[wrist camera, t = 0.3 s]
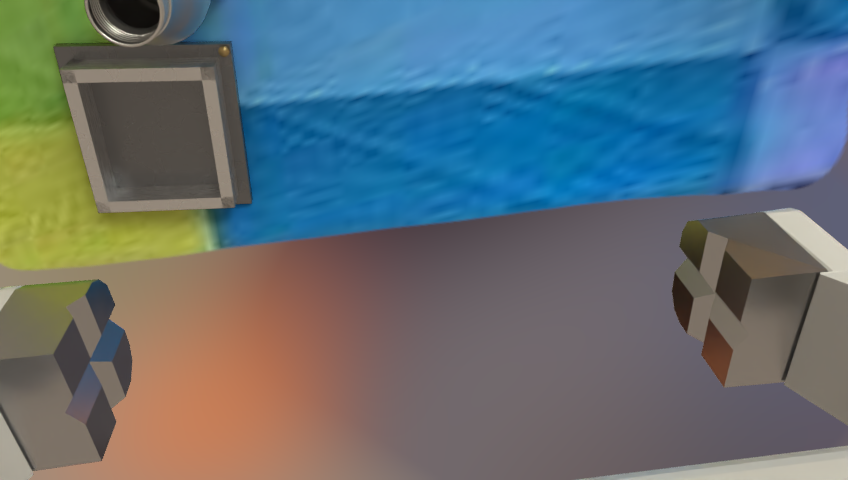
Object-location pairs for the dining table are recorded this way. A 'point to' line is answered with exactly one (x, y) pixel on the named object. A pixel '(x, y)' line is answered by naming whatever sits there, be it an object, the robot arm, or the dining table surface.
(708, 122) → the dining table surface
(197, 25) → the silver bottle
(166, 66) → the grey square tray
